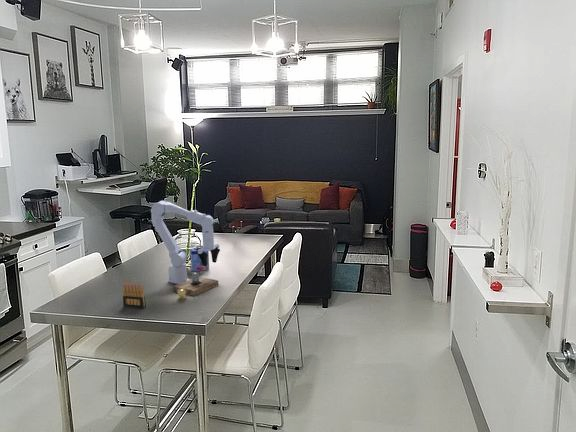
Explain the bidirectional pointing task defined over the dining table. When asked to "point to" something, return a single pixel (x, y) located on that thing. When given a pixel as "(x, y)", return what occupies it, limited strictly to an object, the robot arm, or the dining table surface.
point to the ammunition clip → (133, 295)
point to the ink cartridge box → (198, 260)
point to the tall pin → (195, 278)
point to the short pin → (181, 294)
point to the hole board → (196, 286)
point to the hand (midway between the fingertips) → (209, 264)
